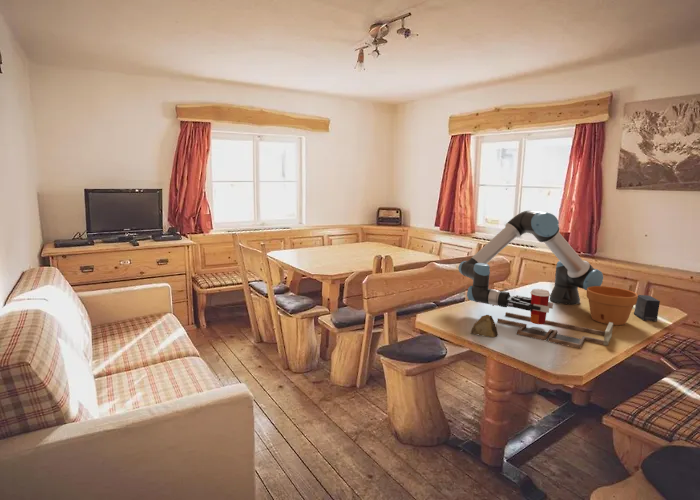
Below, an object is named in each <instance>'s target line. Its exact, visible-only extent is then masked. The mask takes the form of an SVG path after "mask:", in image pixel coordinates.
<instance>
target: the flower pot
mask: <svg viewBox="0 0 700 500" xmlns="http://www.w3.org/2000/svg"><path fill="white" fill-rule="evenodd" d="M638 295H639V294H638V293H637V292H634V291H632V290H628V289H626V288H621V287H613V286H604V285H601V286H592V287H588V288H587V290H586V298H587V300H588V304H589V312H590V317H591V320H594V321H595V322H598V323H600V324H604V325H608V324H609V322H611V323H613V326H623V325H626V323H627V322H628V320H629V318H630V315H631V313H632V311H633V308H634V307H635V305H636V302H637V298H638Z"/></svg>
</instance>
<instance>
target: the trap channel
mask: <svg viewBox="0 0 700 500" xmlns="http://www.w3.org/2000/svg"><path fill="white" fill-rule="evenodd" d="M505 316H506V317H511V318H516V319H519V320H520V319H521V320H525V321H530V322H531V316H528V315H522V314H518V313H513V312H508V311H506V312H505ZM497 323H501V324H506V325H511V326H514V327H515V326H516V327H519V328H518V329H517V330H516V335H518V334H519V335H518V336H522V335H523V336H524V337H526V338H531V337H532V339H535V338H536V340H540V339H541V340H540V341H544V340H546V341H548V342H549V341H550V343H553V342H555V343H554V344H558V343H559V345H562V344H563V346H567V345H569V346H568V347H571V346H573V347H572V348H576V347H578V348H577V349H581V348H580V347H582V346H583V344H584V343H583V342H585V341H586V342H590V343H595V344H600V345H603V346H609V343H610V342H611V339H612V336H613V328H614V325H613V323H611V322H609V324H607V326H606V329H605V330H603V331H602V330H599V329H593V328H589V327H583V326H578V325H573V324H567V323H563V322H558V321H553V320H548V319H545V324H546V325H550V326H555V327H560V328H565V329H570V330H574V331H575V330H576V331H579V332H580V331H581V332H584V333H585V332H586V333H589V334H596V335H600V336H603V337H604V338H603V339H600V338H594V337H590V336H585V335H582V336H581V338H577V337H572V336H567V335H563V334H560V333H558V330H555V329H552V328H549V330H547V331H545V330H541V329H535V328H530V327H528V326H527V325H528V324H527V323H522V322H518V321H512V320H509V319H503V318H497ZM545 324H544V325H545ZM547 338H548V339H547Z"/></svg>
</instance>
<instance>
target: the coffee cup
mask: <svg viewBox="0 0 700 500" xmlns="http://www.w3.org/2000/svg"><path fill="white" fill-rule="evenodd" d="M529 293H530V298H531V304H537V305H543V306H548V302H550V301H549V300H550V295H551V293H550V292H549V290H547V289H543V288H533V289H532V290H531V291H530V292H529ZM530 317H531V321H530V322H531V323H532V324H535V325H545V320H547V319H546V318H547V312H541V311H536V310H532V312H531V311H530Z"/></svg>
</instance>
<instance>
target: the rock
mask: <svg viewBox="0 0 700 500" xmlns="http://www.w3.org/2000/svg"><path fill="white" fill-rule="evenodd" d="M472 333H473V334H472ZM498 333H499V332H498V328H497V326H496V323H495V320H494V318H493V316H492V315H489V314H486V315H482V316H481V317H480V318H479V319H478V320H477V321H476V322H475V323H474V324H473V326H472V327H471V331H470V334H472V335H476V334H479V335H478V336H482V335H484V336H483V337H488V336H489V338H495V337H498V336H499V334H498ZM497 335H498V336H497Z"/></svg>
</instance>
